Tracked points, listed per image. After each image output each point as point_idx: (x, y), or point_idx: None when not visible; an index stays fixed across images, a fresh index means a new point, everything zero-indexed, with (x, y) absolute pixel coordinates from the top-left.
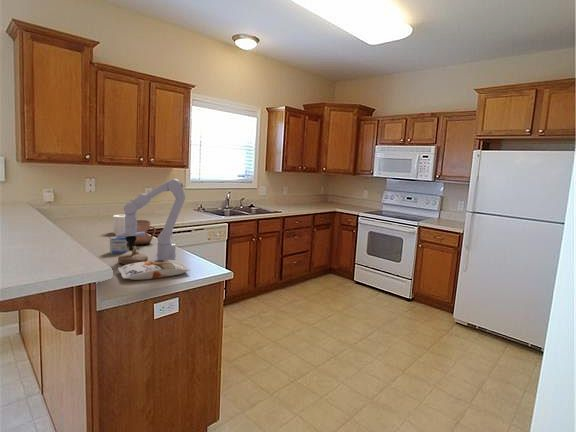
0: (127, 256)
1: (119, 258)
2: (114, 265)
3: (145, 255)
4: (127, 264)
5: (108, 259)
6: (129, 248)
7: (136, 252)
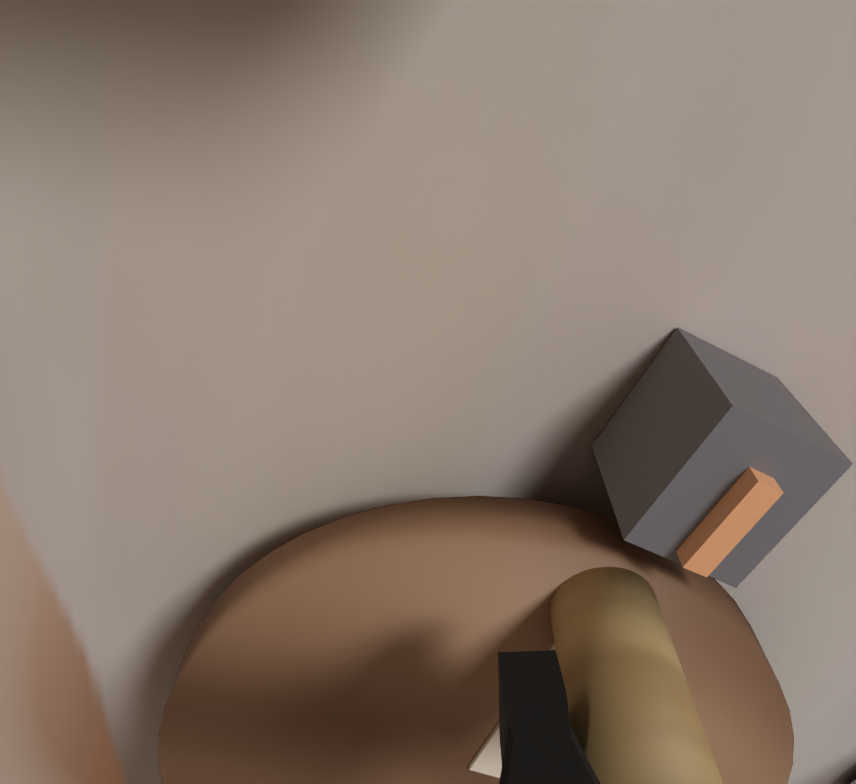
0: (385, 703)
1: (186, 759)
2: (120, 707)
3: (773, 769)
4: None
5: (6, 286)
6: (503, 739)
7: (724, 539)
